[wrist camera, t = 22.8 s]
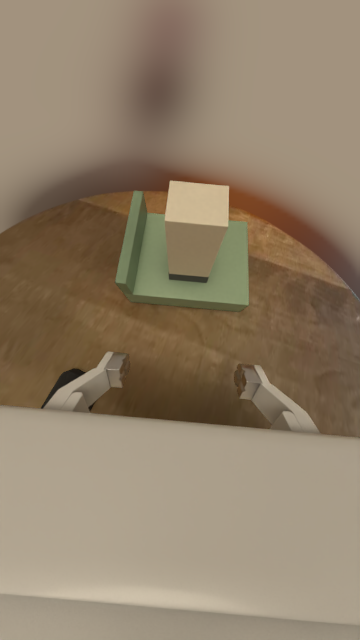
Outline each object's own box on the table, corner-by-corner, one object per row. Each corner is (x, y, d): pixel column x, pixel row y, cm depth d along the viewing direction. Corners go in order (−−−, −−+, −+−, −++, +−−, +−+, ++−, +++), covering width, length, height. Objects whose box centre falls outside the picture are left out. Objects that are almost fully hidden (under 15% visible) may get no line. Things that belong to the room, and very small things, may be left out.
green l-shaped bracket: (239, 237, 26) (257, 202, 20) (239, 312, 23) (261, 296, 17) (143, 228, 26) (133, 190, 20) (130, 301, 23) (114, 282, 17)
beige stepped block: (206, 283, 20) (229, 226, 12) (168, 279, 20) (162, 220, 12) (209, 232, 22) (231, 151, 13) (174, 229, 22) (173, 145, 13)
